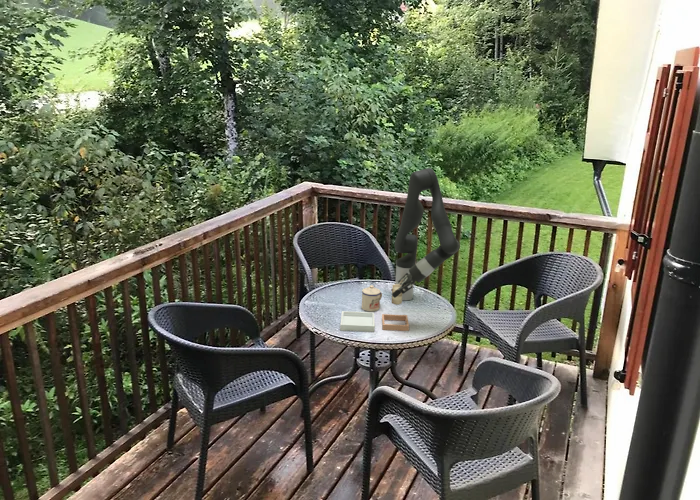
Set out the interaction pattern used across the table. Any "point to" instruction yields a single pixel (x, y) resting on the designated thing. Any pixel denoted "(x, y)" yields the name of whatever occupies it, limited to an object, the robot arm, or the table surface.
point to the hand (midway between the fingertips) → (392, 293)
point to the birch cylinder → (399, 298)
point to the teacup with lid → (371, 298)
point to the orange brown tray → (393, 326)
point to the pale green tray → (357, 321)
